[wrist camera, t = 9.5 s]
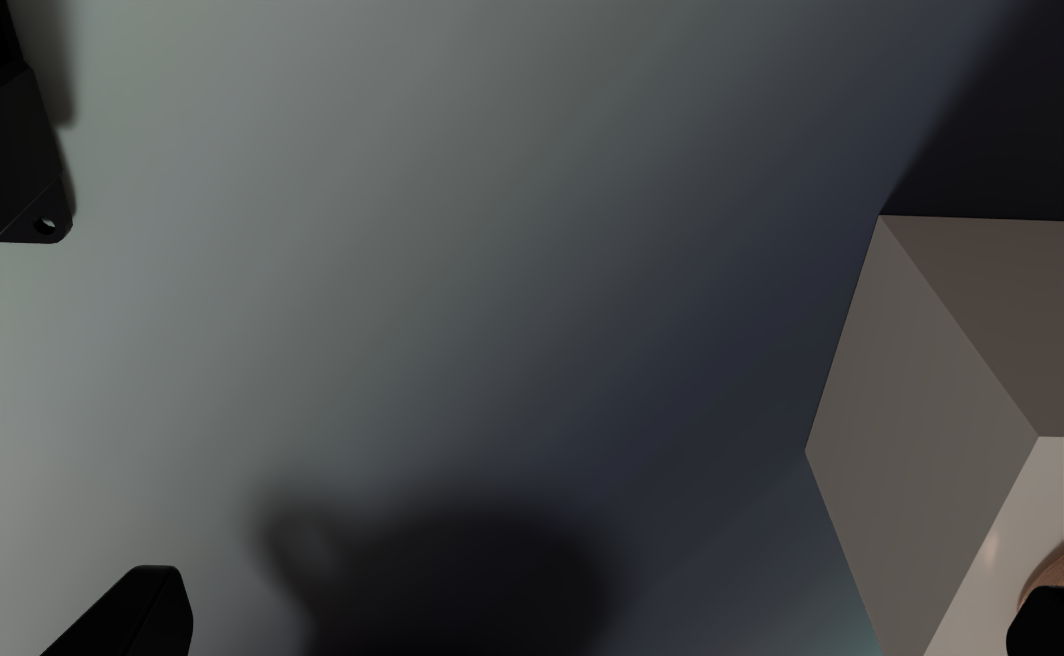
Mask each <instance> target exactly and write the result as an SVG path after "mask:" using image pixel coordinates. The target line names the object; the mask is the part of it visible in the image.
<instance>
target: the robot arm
mask: <svg viewBox="0 0 1064 656" xmlns="http://www.w3.org/2000/svg"><path fill="white" fill-rule="evenodd" d="M62 170H63V168H62V164H61V161H60V158H59V154H58V151H57V148H56V144H55V141H54V138H53V134H52V131H51V128H50V124H49V121H48V118H47V115H46V111H45V108H44V105H43V101H42V98H41V95H40V91H39V88H38V85H37V81H36V78H35V75H34V71H33V69H32V68H31V67H30V66H29V64H28V63H27V62H26V61H25V60H24V58H23V55H22V52H21V49H20V45H19V42H18V39H17V36H16V32H15V29H14V26H13V22H12V19H11V16H10V13H9V9H8V6H7V3H6V0H0V242H9V243H40V244H52V243H58V242H59V241H61V240H62V239H63V238H64V237H65V236H66V235H67V234H68V233H69V232H70V230H71V228H72V226H73V221H72V216H71V212H70V209H69V206H68V203H67V199H66V196H65V193H64V189H63V186H62V183H61V180H60V176H59V175H60V174H61V173H62ZM40 216H43V217H47V218H48V219H50V220H51V221H52V222H53V224H54V225H55V227H52V226H48V225H47V224H46V223H44V222H43V220H42V219H41V217H40ZM192 633H193V614H192V610H191V607H190V603H189V600H188V597H187V593H186V590H185V587H184V584H183V580H182V577H181V574H180V572H179V570H178V569H177V568H175V567H174V566H166V565H140V566H137V567H134V568H133V569H131V570H129V571H128V572H127V573H126V574H125V575H124V576H123V577H122V578H121V579H120V580H119V581H118V582H116V583H115V584H114V585H113V586H112V587H111V588H110V589H109V590H108V591H107V592H106V593H105V594H104V595H103V596H102V597H101V598H100V599H99V600H98V601H97V602H96V603H94V604H93V605H92V606H91V607H90V608H89V609H88V610H87V611H86V612H85V613H84V614H83V615H82V616H81V617H80V618H79V619H78V620H77V621H76V622H75V623H73V624H72V625H71V626H70V627H69V628H68V629H67V630H66V631H65V632H64V633H63V634H62V635H61V636H60V637H59V638H58V639H57V640H56V641H55V642H54V643H52V644H51V645H50V646H49V647H48V648H47V649H46V650H45V651H44V652H43V653H42V654H41V655H40V656H188V652H189V647H190V643H191V638H192ZM1006 650H1007V655H1008V656H1064V586H1061V585H1040V586H1038V587H1036V588H1034V589H1033V590H1032V591H1031V592H1030V594H1029V595H1028V597H1027V598H1026V600H1025V602H1024V603H1023V605H1022V607H1021V608H1020V610H1019V612H1018V613H1017V615H1016V616H1015V618H1014V620H1013V621H1012V623H1011V625H1010V626H1009V628H1008V630H1007V635H1006Z"/></svg>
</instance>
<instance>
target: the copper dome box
mask: <svg viewBox="0 0 1064 656" xmlns="http://www.w3.org/2000/svg"><path fill="white" fill-rule="evenodd" d="M805 453H806V456H807V458H808V461H809V463H810V466H811V469H812V471H813V474H814V476H815V479H816V481H817V484H818V487H819V489H820V492H821V494H822V497H823V500H824V502H825V505H826V507H827V510H828V512H829V515H830V518H831V520H832V523H833V525H834V528H835V531H836V533H837V536H838V538H839V541H840V543H841V546H842V549H843V551H844V554H845V556H846V559H847V562H848V564H849V567H850V569H851V572H852V574H853V577H854V580H855V582H856V585H857V587H858V590H859V593H860V595H861V598H862V600H863V603H864V605H865V608H866V611H867V613H868V616H869V618H870V621H871V624H872V626H873V629H874V631H875V634H876V636H877V639H878V642H879V644H880V647H881V649H882V652H883V655H884V656H1008V655H1007V650H1006V635H1007V630H1008V628H1009V626H1010V625H1011V623H1012V621H1013V620H1014V618H1015V616H1016V613H1017V610H1018V607H1019V605H1020V603H1021V601H1022V599H1023V597H1024V595H1025V593H1026V592H1027V590H1028V589H1029V588H1030V586H1031V585H1032V583H1033V582H1034V581H1035V580H1036V579H1037V578H1038V577H1039V576H1040V575H1041V573H1042V572H1043V571H1044V570H1046V569H1047V568H1048V567H1049V566H1050V565H1051V564H1052V563H1053V562H1055V561H1056V560H1057V559H1058V558H1060V557H1061V556H1062V555H1064V221H1037V220H1008V219H979V218H951V217H922V216H894V215H879V216H878V220H877V223H876V226H875V229H874V232H873V235H872V239H871V242H870V245H869V248H868V251H867V254H866V258H865V261H864V264H863V267H862V270H861V273H860V277H859V280H858V283H857V286H856V289H855V292H854V296H853V299H852V302H851V305H850V308H849V312H848V315H847V318H846V321H845V324H844V327H843V331H842V334H841V337H840V340H839V343H838V346H837V350H836V353H835V356H834V359H833V362H832V365H831V369H830V372H829V375H828V378H827V381H826V384H825V388H824V391H823V394H822V397H821V400H820V403H819V407H818V410H817V413H816V416H815V419H814V422H813V426H812V429H811V432H810V435H809V438H808V442H807V445H806V448H805Z"/></svg>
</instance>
